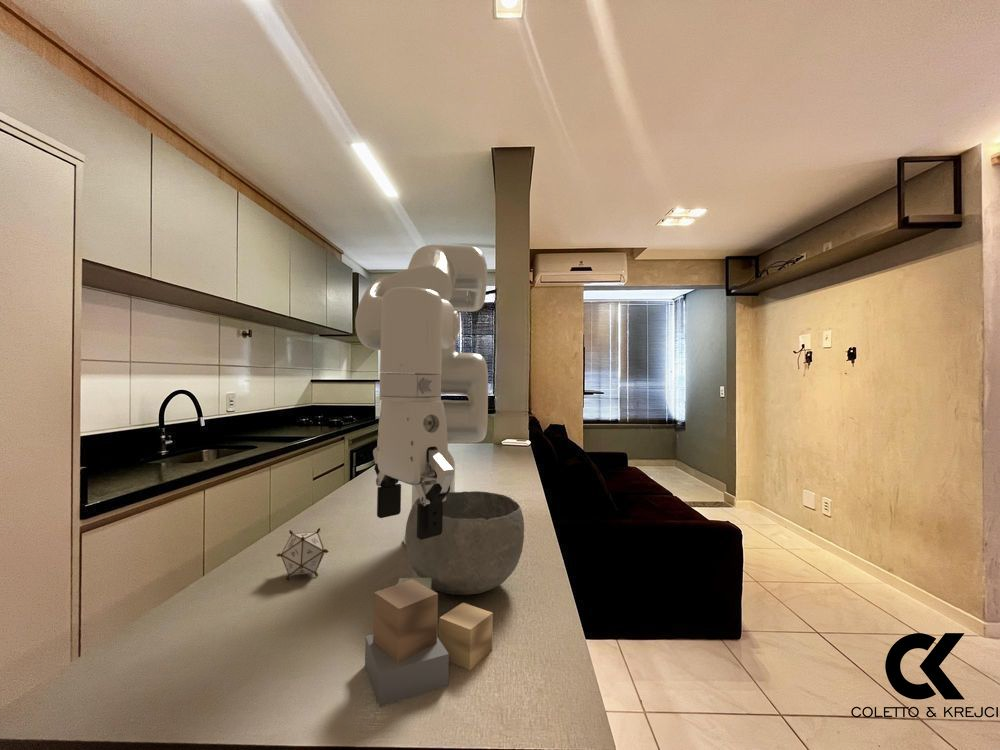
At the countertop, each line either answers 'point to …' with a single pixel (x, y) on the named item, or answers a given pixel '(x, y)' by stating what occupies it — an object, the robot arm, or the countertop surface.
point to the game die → (303, 553)
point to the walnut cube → (405, 619)
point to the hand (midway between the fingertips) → (407, 525)
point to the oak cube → (466, 634)
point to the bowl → (469, 543)
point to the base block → (405, 672)
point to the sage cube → (423, 581)
